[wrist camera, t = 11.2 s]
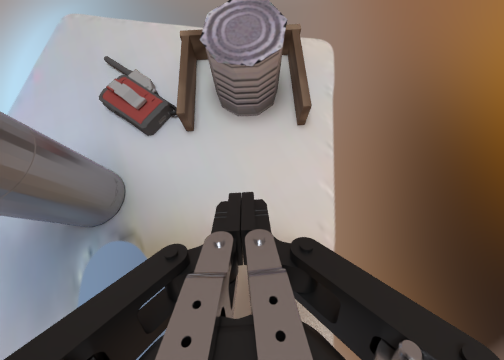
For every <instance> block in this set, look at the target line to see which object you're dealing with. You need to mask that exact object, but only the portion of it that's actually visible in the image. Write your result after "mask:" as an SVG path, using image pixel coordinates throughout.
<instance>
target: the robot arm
mask: <svg viewBox="0 0 504 360" xmlns="http://www.w3.org/2000/svg"><path fill="white" fill-rule="evenodd" d="M124 195H125V188H124V184H123V182H122V180H121V178H120V177H119V176H118V175H117V174H115V173H114V172H112V171H110V170H109V169H107V168H105V167H103V166H101V165H99V164H98V163H96V162H94V161H92V160H90V159H88V158H86V157H85V156H83V155H81V154H79V153H77V152H75V151H73V150H71V149H70V148H68V147H66V146H64V145H62V144H60V143H58V142H57V141H55V140H53V139H51V138H49V137H47V136H45V135H43V134H42V133H40V132H38V131H36V130H34V129H32V128H30V127H29V126H27V125H25V124H23V123H21V122H19V121H17V120H15V119H13V118H11V117H10V116H8V115H6V114H4V113H2V112H0V216H7V217H15V218H22V219H30V220H38V221H45V222H53V223H60V224H67V225H75V226H83V227H93V226H97V225H100V224H102V223H104V222H106V221H108V220H109V219H110V218H112V217H113V216H114V215H115V214H116V213H117V211H118V210H119V208H120V207H121V205H122V202H123V199H124ZM243 259H244V265H247V273H248V284H249V294H250V304H251V314H252V315H249V316H246V317H243V318H240V319H233V314H234V306H235V297H236V289H237V281H238V277H237V275H238V265H243ZM164 286H165V288H164V289H163V290H162V291H161V292H160V293H158V294H157V295H156V296H155V297H154V298H153V299H151V300H150V301H149V302H148V303H147V304H146V305H145V306H143V307H142V308H141V306H142V305H143V304H144V303H145V302H147V301H148V300H149V299H150V298H151V297H153V296H154V295H155V294H156V293H157V292H158V291H160V290H161V289H162V288H163V287H164ZM295 299H296V300H297V301H298V302H299V303H301V304H302V305H303V306H304V307H305V308H306V309H307V310H308V311H309V312H310V313H311V314H312V315H314V316H315V317H316V318H317V319H318V320H319V321H320V322H321V323H322V324H323V325H324V326H326V327H327V328H328V329H329V330H330V331H331V332H332V333H333V334H334V335H335V336H337V337H338V338H339V339H340V340H341V341H342V342H343V343H344V344H345V345H346V346H347V347H348V348H350V349H351V350H352V351H353V352H354V353H355V354H356V355H357V356H358V357H359V358H360V359H361V360H500V359H499V358H498V357H497V356H496V355H495V354H494V353H493V352H492V351H491V350H489V349H488V348H487V347H486V346H484V345H483V344H481V343H480V342H478V341H477V340H475V339H474V338H472V337H470V336H469V335H467V334H466V333H464V332H462V331H461V330H459V329H457V328H456V327H454V326H453V325H451V324H449V323H448V322H446V321H444V320H443V319H441V318H440V317H438V316H436V315H435V314H433V313H432V312H430V311H428V310H427V309H425V308H424V307H422V306H420V305H418V304H417V303H415V302H414V301H412V300H411V299H409V298H407V297H406V296H404V295H402V294H401V293H399V292H398V291H396V290H394V289H393V288H391V287H390V286H388V285H386V284H385V283H383V282H382V281H380V280H378V279H377V278H375V277H373V276H372V275H370V274H369V273H367V272H365V271H364V270H362V269H361V268H359V267H357V266H356V265H354V264H352V263H351V262H349V261H348V260H346V259H344V258H342V257H341V256H340V255H338V254H336V253H335V252H333V251H331V250H330V249H328V248H327V247H325V246H323V245H322V244H320V243H319V242H317V241H315V240H313V239H311V238H307V237H300V238H297V239H295V240H293V241H292V243H286V242H282V241H279V240H277V239H276V238H275V237H274V236H273V235H272V233H271V228H270V222H269V216H268V210H267V204H266V203H265V202H264V201H263V200H262V199H260V200H254V193H253V192H243V193H242V197H241V193H229V199H228V201H224V202H220V204H219V205H218V206H217V208H216V213H215V218H214V222H213V227H212V232H211V234H210V235H209V236H208V237H207V238H206V239H205V241H204V244H203V245H201V246H199V247H196V248H193V249H189V250H187V248H186V247H185V246H184V245H182V244H172V245H169V246H166V247H165V248H163V249H162V250H160V251H159V252H157V253H156V254H154V255H153V256H151V257H150V258H149V259H147V260H146V261H145V262H143V263H142V264H140V265H139V266H137V267H136V268H134V269H133V270H132V271H130V272H129V273H127V274H126V275H124V276H123V277H121V278H120V279H119V280H117V281H116V282H114V283H113V284H111V285H110V286H109V287H107V288H106V289H104V290H103V291H101V292H100V293H99V294H97V295H96V296H94V297H93V298H91V299H90V300H88V301H87V302H86V303H84V304H83V305H81V306H80V307H78V308H77V309H76V310H74V311H73V312H71V313H70V314H68V315H67V316H66V317H64V318H63V319H61V320H60V321H58V322H57V323H56V324H54V325H53V326H51V327H50V328H48V329H47V330H46V331H44V332H43V333H41V334H40V335H38V336H37V337H36V338H34V339H33V340H31V341H30V342H28V343H27V344H25V345H24V346H23V347H21V348H20V349H18V350H17V351H15V352H14V353H13V354H11V355H10V356H8V357H7V358H5V359H4V360H136V359H137V358H138V357H139V356H140V355H141V354H142V353H143V352H144V350H146V349H147V348H148V346H150V344H152V343H153V341H154V340H155V339H156V338H157V337H158V336H159V335H160V334H161V333H162V332H163V331H164V330H165V329H166V328H167V329H166V332H165V334H164V335H163V336H162V337H160V338H159V339H158V340H157V341H156V342H155V343H154V344H153V345H152V346H151V347H150V348H149V349H148V350H147V351H146V352H145V353H144V354H143V355H142V357H141V358H140V359H139V360H345V358H344V357H343V356H342V355H341V354H340V353H339V352H338V351H336V349H335V348H334V347H333V346H332V345H331V344H330V343H329V342H328V341H327V340H326V339H325V338H324V337H323V336H322V335H321V334H320V333H319V332H317V331H316V330H315V329H314V328H312V327H311V326H309V325H308V324H306V323H304V322H302V321H301V318H300V315H299V311H298V308H297V305H296V301H295ZM140 308H141V309H140ZM139 309H140V310H139Z"/></svg>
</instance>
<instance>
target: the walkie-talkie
mask: <svg viewBox="0 0 504 360" xmlns="http://www.w3.org/2000/svg"><path fill="white" fill-rule="evenodd" d="M104 60H105V61H106V62H107V63H109V64H110V65H112V66H113V67H115V68H117V69H118V70H120V71H121V72H123V73H124V74H126V75H122V76H119V77H118V78H117V79H114V80H113V81H112V82H111V83H110V84H109V85H108V86H107V87H106V88H105V89H103V91H102V92H101V93H100V96H99V100H100V101H101V102H103V105H105V106H106V107H107V108H108V109H111V110H112V111H113V112H114V113H115V114H117V115H119V116H121V117H122V118H123V119H125V120H126V121H128V122H129V123H131V124H132V125H134V126H135V127H136V128H138V129H139V130H141V131H142V132H143V133H145V134H147V135H148V136H149V135H154V134H155V133H156V132H157V131H158V129H159V128H160V127H161V126H162V125H163V124H164V123H165V122H166V121H167V120H168V119H169V118H170V117H171V116H175V115H177V114H176V112H177V108H176V107H175V106H174V105H172V104H171V103H169V102H168V101H166V100H165V99H163V98H161V97H160V96H159V95H158V93H157V91H156V90H155V86H154V84H153V83H152V81H151V79H149V78H148V77H146V76H145V75H143V74H141V73H140V72H139V71H138V70H136V69H135V70H134V71H131V70H128V69H127V68H125V67H123V66H122V65H120V64H119V63H117V62H116V61H114V60H112V59H111V58H109V57H107V56H105V57H104ZM171 107H172V108H173V109H175V111H174V112H173V109H172V108H171Z"/></svg>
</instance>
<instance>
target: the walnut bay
mask: <svg viewBox="0 0 504 360" xmlns="http://www.w3.org/2000/svg"><path fill="white" fill-rule="evenodd" d="M300 32H301V26H300V24H292V25H286V30H285V35H284V43H283V50H282V55H288V60H289V67H290V74H291V81H292V89H293V96H294V103H295V111H296V118H297V125H304V124H305V122H306V119H307V117H308V114H309V111H310V109H311V100H310V94H309V88H308V82H307V76H306V70H305V64H304V58H303V52H302V46H301V40H300ZM201 34H202V30H188V31H180V38H181V41H182V44H181V58H180V71H179V85H178V99H177V112H176V114H177V115H178V117H179V119H180V120H181V122H182V124H183V126H184V127H185V129H186V131H194V113H195V89H196V65H197V60H203V59H208V56H207V52H206V48H205V46H204V45H203V44H202V42H201V41H200V37H201Z"/></svg>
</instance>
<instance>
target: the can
mask: <svg viewBox="0 0 504 360" xmlns="http://www.w3.org/2000/svg"><path fill="white" fill-rule="evenodd" d="M286 24H287V19H286V18H285V17H284V16H283V15H282V14H281V13H280V12H279V10H278V9H277V8H276V7H275V6H274V5H273V4H272V3H271V2H269V0H229V1H227V2H226V3H224V4H222V5H221V6H219V7H218V8H216V9H214V10H212V11H210V12H209V13H208V14H207V18H206V20H205V24H204V27H203V30H202V34H201V37H200V41H201V42H202V44H203V45H204V46H205V48H206V52H207V56H208V60H209V64H210V68H211V72H212V76H213V80H214V84H215V87H216V91H217V94H218V97H219V99H220V102H221V105H222V107H223V108H225V109H227V110H228V111H230V112H232V113H234V114H235V115H237V116H252V115H259V114H260V113H262V112H263V111H265V110H266V109H268V108H269V107H270V106H272V105H273V103H274V99H275V96H276V93H277V89H278V81H279V73H280V66H281V58H282V50H283V43H284V35H285V30H286Z"/></svg>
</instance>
